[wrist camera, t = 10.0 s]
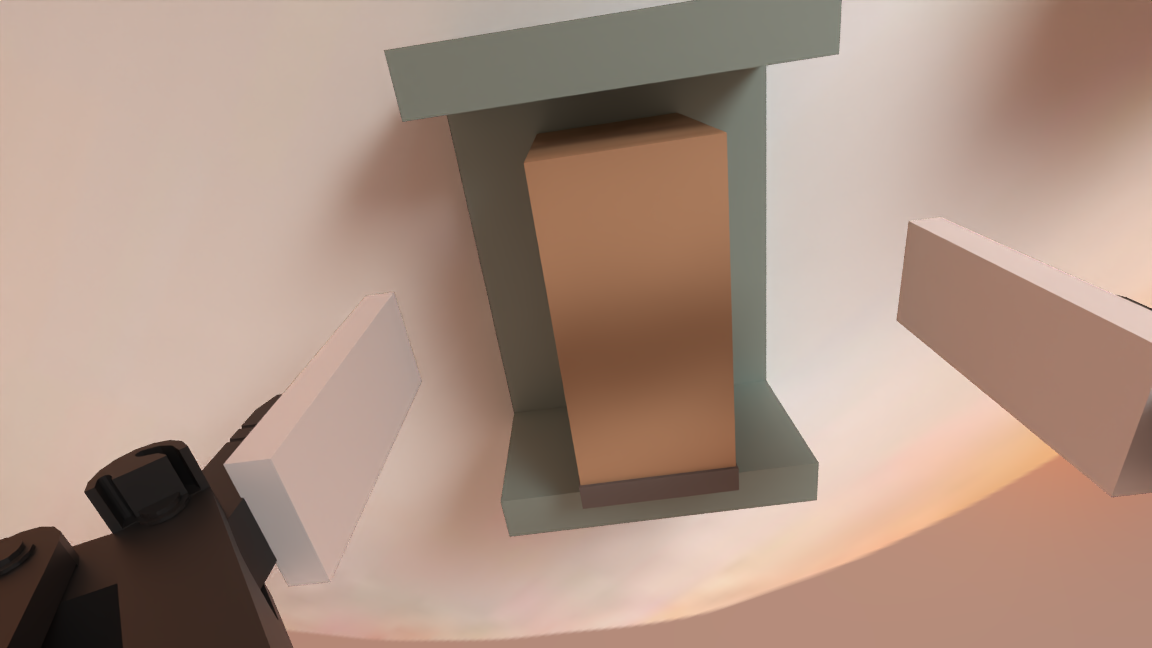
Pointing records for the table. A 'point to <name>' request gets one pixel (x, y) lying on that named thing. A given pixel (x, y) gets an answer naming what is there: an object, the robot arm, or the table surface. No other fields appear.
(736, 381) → the bracket
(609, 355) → the rail end
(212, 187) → the table surface
